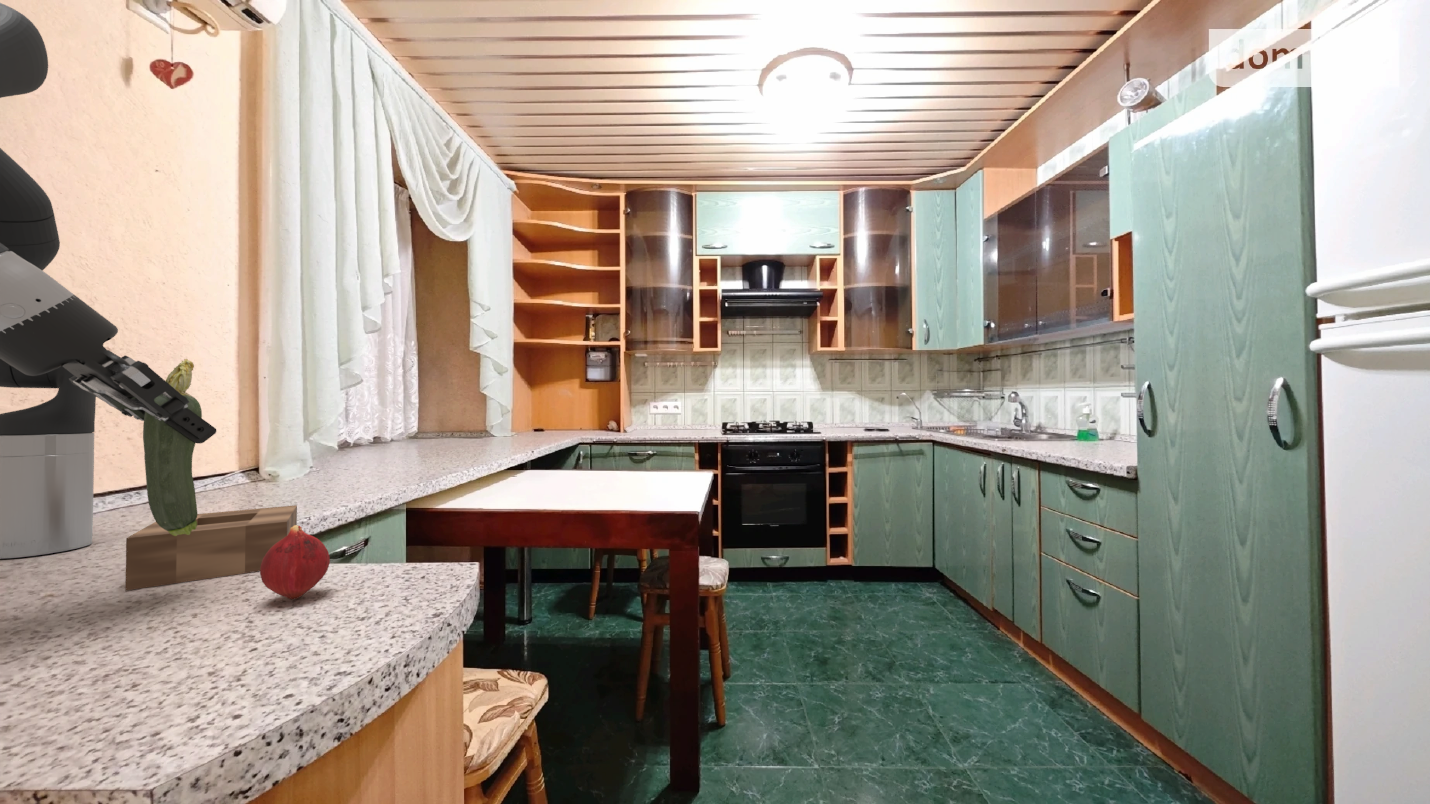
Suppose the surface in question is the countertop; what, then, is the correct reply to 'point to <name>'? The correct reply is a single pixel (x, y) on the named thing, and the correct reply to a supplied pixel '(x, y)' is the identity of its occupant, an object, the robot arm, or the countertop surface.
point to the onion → (294, 564)
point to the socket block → (206, 547)
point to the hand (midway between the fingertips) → (197, 436)
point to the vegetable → (171, 462)
